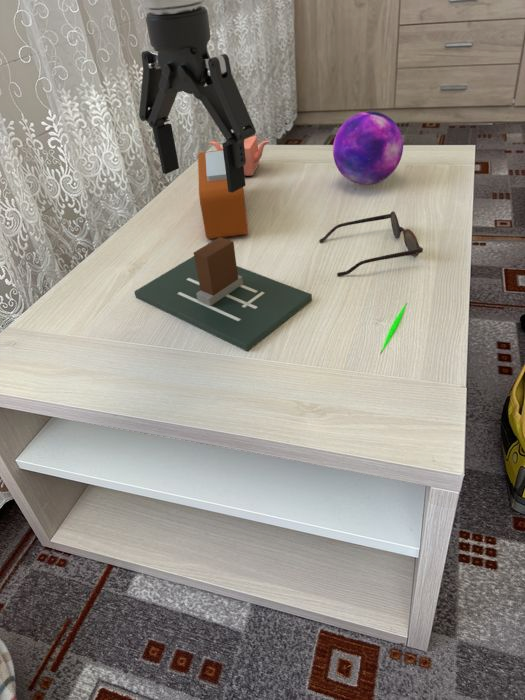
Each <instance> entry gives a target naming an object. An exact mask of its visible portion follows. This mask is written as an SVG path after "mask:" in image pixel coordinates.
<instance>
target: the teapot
mask: <svg viewBox="0 0 525 700" xmlns="http://www.w3.org/2000/svg"><path fill="white" fill-rule="evenodd" d="M258 141H259V140H258V136H257V135H253V136H251V137H249V138H247V139H245V140H244V148H245V158H246V163H245V165H243V167H244V176H246V177H249V176H254V173H255V172H256V170H257V168H258V167H259V165H260V159H261V158H262V156H263V152H264V148H265V145H266V144H268V143H269V142H270V140H263V141H261V142H260V143H259V142H258ZM208 143H209V144H210V145H213V146H214V148H215V149H216V151H218V150H223V146H222V145H220V144H219V143H218V142H217V141H209V142H208Z"/></svg>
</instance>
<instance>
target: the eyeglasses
mask: <svg viewBox="0 0 525 700" xmlns="http://www.w3.org/2000/svg"><path fill="white" fill-rule="evenodd" d="M388 219H390V225H391V229H392V233H393V235H394V237H395V239H397V240H399V239H400V237H401V234H402V235H403V243H404V245H405V247H406V251H401V252H395V253H390V254H387V255H381V256H377V257H372V258H368V259H364V260H361V261H359V262H357V263H356V264H354V265H353V266H351V267H350V268H349V269H347V270H346V271H345V270H344V271H339V272H337V273H336V276H337V277H341V276H347V275H349V274H351V273H353V272H354V271H355V270H356V269H358V268H359V267H360V266H362V265H365V264H368V263H373V262H378V261H383V260H390V259H395V258H401V257H402V258H403V257H408V256H412V257H414V258H417V257H418V256H419V254H422V253H423V252H424V249H423V247H421V246H420V244H419V240H418V239H417V236H416V235H415V233H414V231H412V230H411V229H409V228H407V229H405V228H404V227H402V226H400V223H399V220H398V216H397V214H396V212H395V211H391V212H390V213H387V214H382V215H377V216H371V217H365V218H361V219H356V220H351V221H346V222H343V223H339V224H337V225H335V226H334V227H332V228H331V229H330V230H329V231H328V232H327V233H326V234H325V235H324V237H323V236H322V238H320V239H319V240H318V242H319V243H320V244H321V243H323V242H324V241H326V240H327V239H328V238H329V237H330V236H331V235H332V234H333V233H334V232H335V231H336V230H337V229H340V228H342V227H346V226H347V227H348V226H352V225H357V224H364V223H369V222H376V221H382V220H388Z"/></svg>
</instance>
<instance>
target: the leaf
mask: <svg viewBox="0 0 525 700" xmlns="http://www.w3.org/2000/svg"><path fill="white" fill-rule="evenodd" d="M407 304H408V302H406V303H405V304H404V306H403V307H402V309H401V310H400V312H399V313H398V314H397V316H396V317H395V319H394V321H393V323H392V325H391V326H390V328H389V331H388V333H387V335H386V339H385V341H384V344H383V346H382V349H381V351H380V354H382V353H383V351H384V350H385V348H386V347H387V345H388V344H389V342H390V341H391V339H392V338H393V335H394V334H395V333H396V331H397V330H398V327H399V325H400V323H401V320H402V318H403V315H404V312H405V310H406V307H407Z"/></svg>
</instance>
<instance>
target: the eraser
mask: <svg viewBox="0 0 525 700" xmlns="http://www.w3.org/2000/svg"><path fill="white" fill-rule="evenodd" d="M234 243H235V242H234V241H233V240H230V239H227V238H226V237H219V238H215V239H214V240H212V241H211V242H209V243H207V244H205V245H203V246H202V247H201V248H199V249H197V250H195V251H193V256H194V258H195V263H196V269H197V274H198V279H199V285H200V291H199V292H197V293H196V295H197V300H198V301H200V302H202V303H204V304H206V305H208V306H212V305H213V304H214V303H216V302H217V301H219V300H220V299H222V298H223V297H225V296H226V295H228V294H229V293H231V292H232V291H234V290H235V289H236V288H238V287H239V286H241V285H242V284H243V278H242V276H239V275H238V273H237V266H238V265H237V258H236V250H235V244H234Z"/></svg>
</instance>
